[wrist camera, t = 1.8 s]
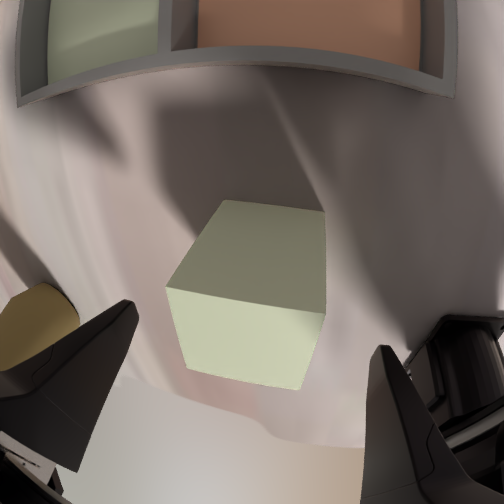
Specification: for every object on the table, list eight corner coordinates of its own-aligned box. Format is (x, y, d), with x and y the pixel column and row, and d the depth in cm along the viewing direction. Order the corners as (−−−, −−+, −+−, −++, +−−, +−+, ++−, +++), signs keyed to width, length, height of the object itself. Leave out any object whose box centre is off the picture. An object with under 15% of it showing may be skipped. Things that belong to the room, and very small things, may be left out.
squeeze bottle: (23, 261, 20) (-77, 392, 6) (77, 289, 20) (-32, 459, 5) (46, 315, 25) (-29, 430, 10) (98, 343, 24) (23, 481, 10)
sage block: (324, 211, 12) (325, 314, 7) (309, 288, 14) (299, 390, 10) (224, 199, 13) (165, 286, 8) (226, 275, 15) (187, 368, 10)
